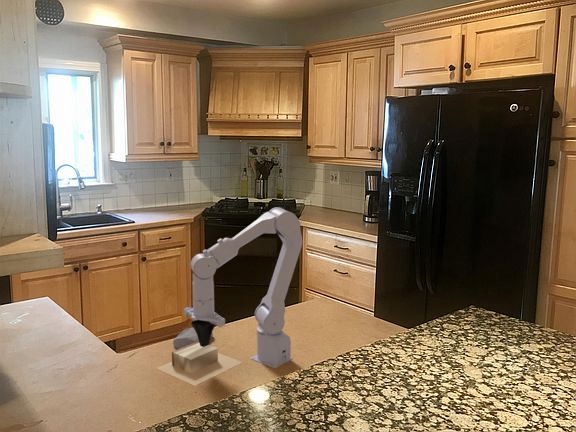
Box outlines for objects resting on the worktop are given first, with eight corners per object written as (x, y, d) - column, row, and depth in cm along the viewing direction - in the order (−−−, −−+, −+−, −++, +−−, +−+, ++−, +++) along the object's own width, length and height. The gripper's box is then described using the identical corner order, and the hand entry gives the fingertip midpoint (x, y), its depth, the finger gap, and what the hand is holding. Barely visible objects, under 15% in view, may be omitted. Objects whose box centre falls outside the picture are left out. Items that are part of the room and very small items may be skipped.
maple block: (217, 348, 152) (198, 340, 157) (190, 359, 144) (171, 351, 149) (217, 361, 153) (198, 353, 158) (191, 373, 145) (172, 365, 150)
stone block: (171, 355, 162) (202, 352, 160) (168, 340, 162) (199, 336, 159) (187, 341, 174) (215, 338, 171) (184, 327, 173) (212, 323, 171)
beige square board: (242, 363, 152) (242, 362, 152) (194, 387, 138) (194, 385, 138) (204, 348, 162) (204, 347, 162) (156, 369, 148) (156, 368, 148)
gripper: (174, 296, 147) (176, 343, 149) (211, 307, 138) (212, 357, 140) (194, 290, 152) (195, 335, 155) (230, 300, 143) (231, 348, 146)
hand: (204, 345), depth 148 cm, fingers closed
